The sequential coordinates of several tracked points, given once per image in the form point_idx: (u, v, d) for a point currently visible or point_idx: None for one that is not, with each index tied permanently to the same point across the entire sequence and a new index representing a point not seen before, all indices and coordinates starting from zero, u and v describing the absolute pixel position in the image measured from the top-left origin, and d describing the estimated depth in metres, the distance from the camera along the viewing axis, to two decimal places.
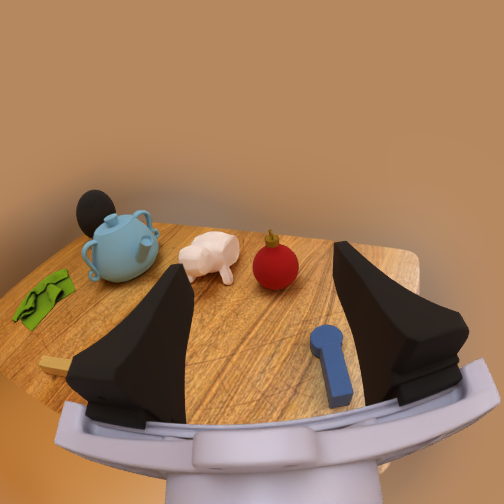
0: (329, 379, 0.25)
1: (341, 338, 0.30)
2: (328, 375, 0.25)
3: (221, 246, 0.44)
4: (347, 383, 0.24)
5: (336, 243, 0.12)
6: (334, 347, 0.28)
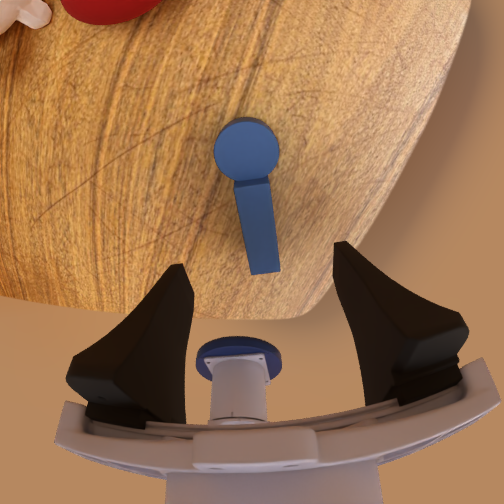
0: (247, 251, 0.19)
1: (276, 158, 0.16)
2: (246, 245, 0.19)
3: None
4: (274, 258, 0.19)
5: (336, 243, 0.12)
6: (259, 195, 0.16)
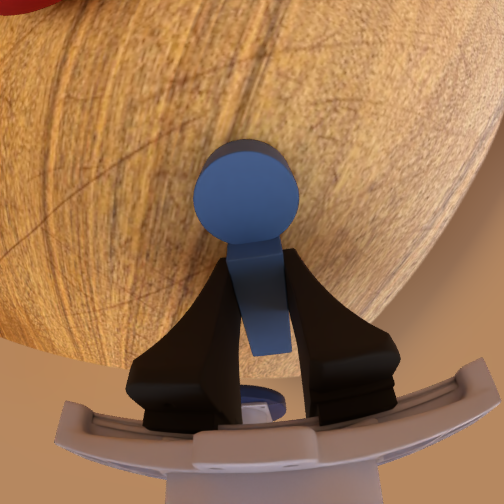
0: (248, 334, 0.13)
1: (293, 211, 0.10)
2: (246, 328, 0.13)
3: None
4: (284, 340, 0.14)
5: (282, 250, 0.12)
6: (266, 270, 0.11)
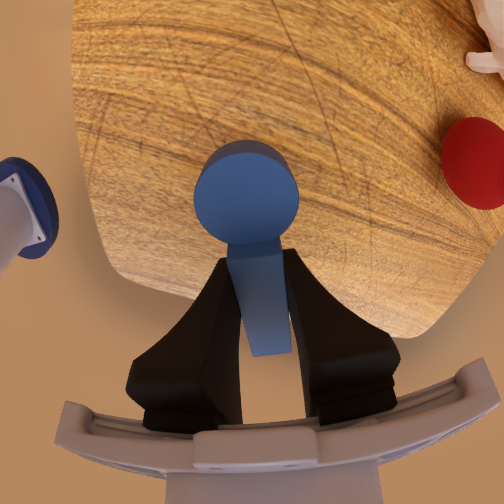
0: (248, 334, 0.13)
1: (293, 212, 0.10)
2: (246, 328, 0.13)
3: None
4: (284, 341, 0.14)
5: None
6: (266, 271, 0.11)
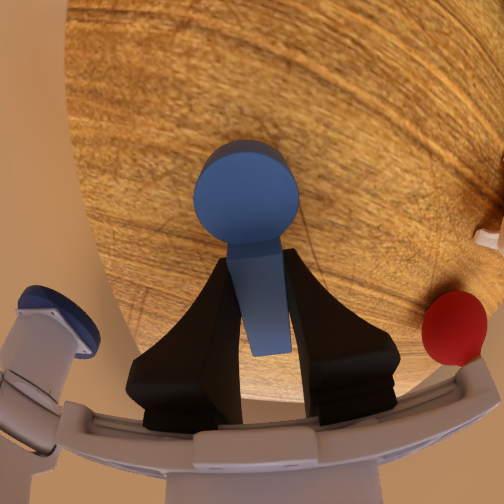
0: (248, 334, 0.13)
1: (293, 212, 0.10)
2: (246, 328, 0.13)
3: None
4: (284, 341, 0.14)
5: (282, 250, 0.12)
6: (266, 271, 0.11)
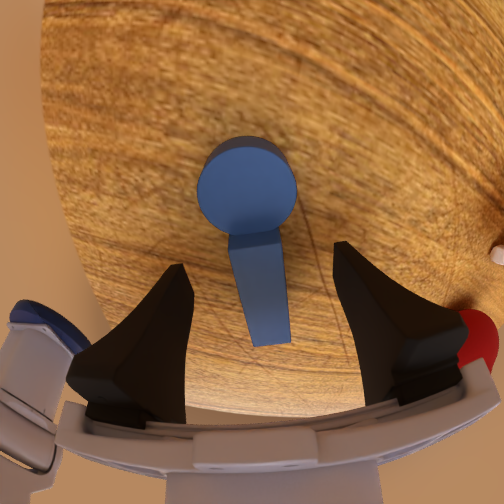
0: (248, 324, 0.14)
1: (291, 203, 0.11)
2: (247, 317, 0.13)
3: None
4: (283, 330, 0.14)
5: (336, 243, 0.12)
6: (265, 260, 0.11)
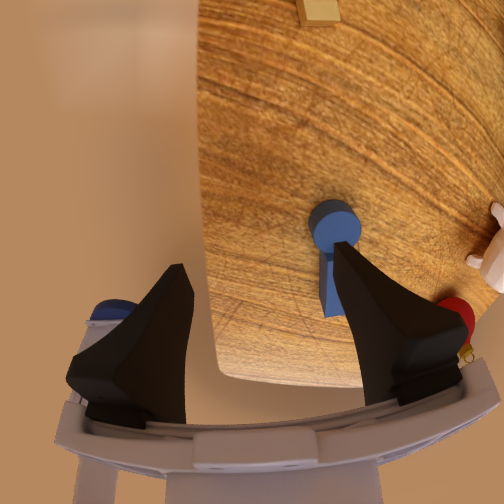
0: (326, 302, 0.24)
1: (357, 237, 0.21)
2: (326, 298, 0.23)
3: None
4: None
5: (336, 243, 0.12)
6: None
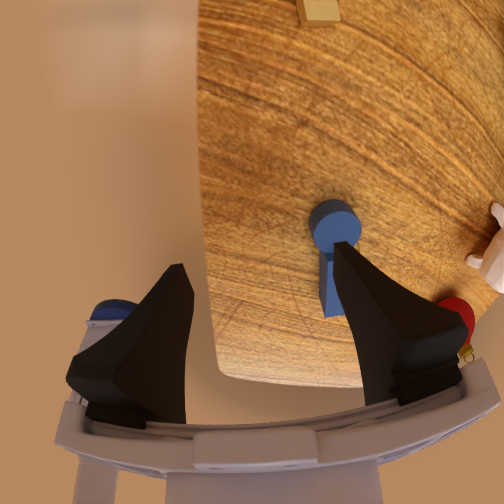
0: (326, 302, 0.24)
1: (357, 237, 0.21)
2: (327, 298, 0.23)
3: None
4: None
5: (336, 243, 0.12)
6: None
